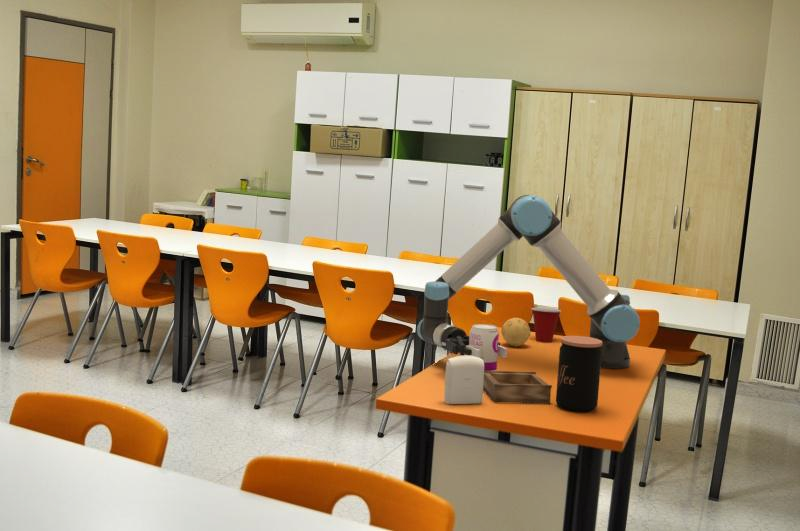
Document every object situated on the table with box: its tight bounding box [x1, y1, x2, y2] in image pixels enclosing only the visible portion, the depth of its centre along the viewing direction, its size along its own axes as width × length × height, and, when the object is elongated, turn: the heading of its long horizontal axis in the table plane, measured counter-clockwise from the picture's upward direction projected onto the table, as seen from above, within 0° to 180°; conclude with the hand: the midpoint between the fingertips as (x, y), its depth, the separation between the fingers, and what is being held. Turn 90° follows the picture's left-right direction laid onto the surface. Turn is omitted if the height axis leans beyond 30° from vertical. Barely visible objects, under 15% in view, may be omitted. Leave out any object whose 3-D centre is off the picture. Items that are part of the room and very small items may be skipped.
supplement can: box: [469, 323, 500, 371], centre depth 246 cm, size 8×8×15 cm
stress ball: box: [501, 317, 531, 348], centre depth 301 cm, size 10×10×10 cm
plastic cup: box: [530, 307, 562, 343], centre depth 313 cm, size 11×11×12 cm
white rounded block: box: [443, 355, 484, 405], centre depth 223 cm, size 10×4×12 cm, turn 105°
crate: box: [483, 370, 553, 405], centre depth 233 cm, size 15×15×5 cm
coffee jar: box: [555, 335, 603, 414], centre depth 224 cm, size 11×11×18 cm
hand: (492, 354), depth 242 cm, fingers closed on supplement can, 8 cm apart
